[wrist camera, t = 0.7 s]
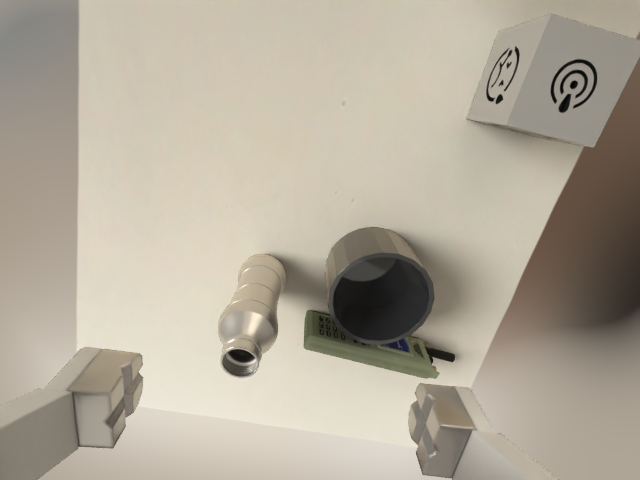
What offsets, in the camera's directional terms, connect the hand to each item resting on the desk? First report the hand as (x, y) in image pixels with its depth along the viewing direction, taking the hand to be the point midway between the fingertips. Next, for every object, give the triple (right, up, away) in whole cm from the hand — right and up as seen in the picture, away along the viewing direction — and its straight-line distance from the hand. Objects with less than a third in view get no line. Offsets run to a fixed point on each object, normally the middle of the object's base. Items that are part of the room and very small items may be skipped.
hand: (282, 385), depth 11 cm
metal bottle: (-7, 0, +43) cm, 43 cm away
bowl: (+9, 0, +43) cm, 44 cm away
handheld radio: (+11, -11, +47) cm, 50 cm away
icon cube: (+26, +23, +34) cm, 49 cm away
